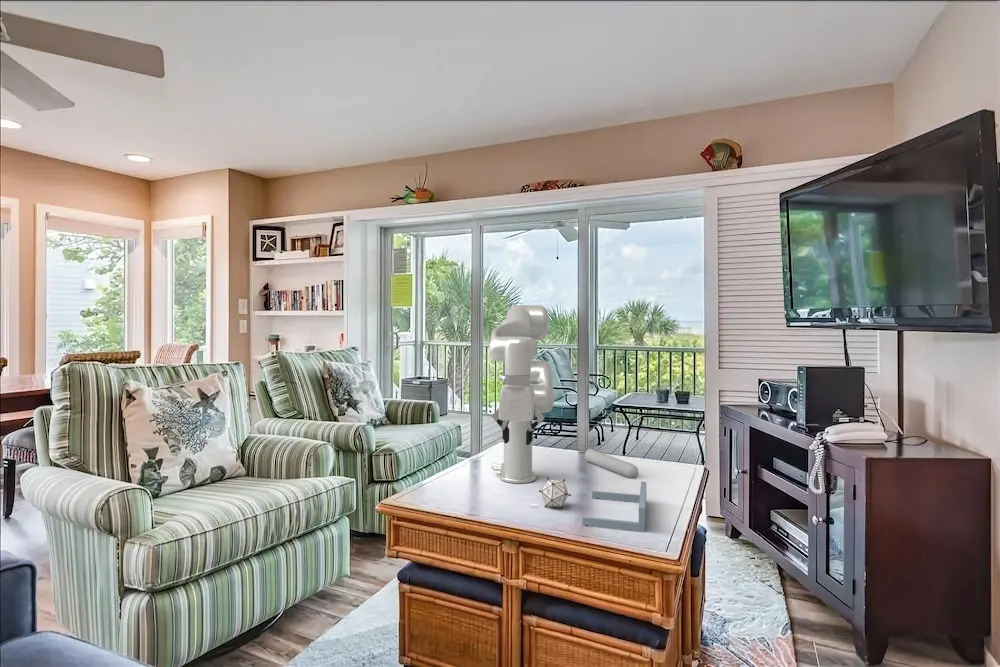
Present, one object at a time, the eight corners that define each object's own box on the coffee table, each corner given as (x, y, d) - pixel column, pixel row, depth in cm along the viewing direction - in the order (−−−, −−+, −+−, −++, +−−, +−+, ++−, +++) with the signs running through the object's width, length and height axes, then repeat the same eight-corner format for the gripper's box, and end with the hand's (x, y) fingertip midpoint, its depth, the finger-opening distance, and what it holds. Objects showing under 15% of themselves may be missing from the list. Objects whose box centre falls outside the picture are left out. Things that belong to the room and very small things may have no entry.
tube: (643, 466, 179) (597, 450, 201) (631, 463, 176) (586, 447, 199) (639, 482, 178) (593, 464, 200) (627, 479, 176) (582, 461, 198)
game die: (560, 518, 151) (580, 489, 152) (553, 517, 144) (575, 487, 145) (536, 498, 155) (556, 470, 156) (528, 496, 148) (549, 467, 149)
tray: (582, 525, 137) (582, 502, 136) (592, 497, 159) (592, 477, 158) (644, 532, 132) (644, 508, 132) (646, 502, 154) (646, 481, 154)
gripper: (485, 381, 151) (485, 444, 152) (544, 383, 147) (544, 448, 147) (492, 378, 159) (492, 438, 159) (549, 380, 154) (549, 442, 154)
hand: (517, 442), depth 153 cm, fingers open, 5 cm apart
